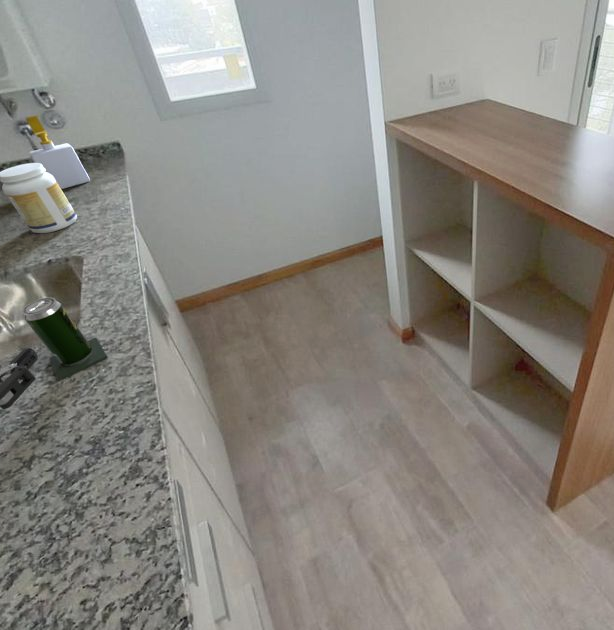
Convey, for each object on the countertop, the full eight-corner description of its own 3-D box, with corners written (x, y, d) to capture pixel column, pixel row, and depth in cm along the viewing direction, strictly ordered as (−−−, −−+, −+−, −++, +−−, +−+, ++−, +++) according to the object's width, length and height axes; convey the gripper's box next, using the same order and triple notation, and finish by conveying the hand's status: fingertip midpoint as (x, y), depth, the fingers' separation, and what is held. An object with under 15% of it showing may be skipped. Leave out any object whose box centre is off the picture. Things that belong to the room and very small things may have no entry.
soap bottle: (53, 192, 154) (9, 121, 139) (49, 187, 158) (7, 118, 143) (91, 181, 160) (54, 112, 146) (87, 177, 164) (50, 110, 149)
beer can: (72, 370, 79) (31, 318, 71) (54, 363, 81) (12, 311, 73) (100, 351, 82) (64, 300, 75) (82, 344, 84) (45, 294, 77)
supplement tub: (66, 213, 138) (33, 159, 127) (87, 220, 133) (54, 164, 122) (23, 230, 130) (-16, 173, 119) (43, 238, 125) (4, 180, 114)
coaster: (59, 381, 78) (57, 379, 77) (50, 359, 82) (48, 358, 82) (108, 357, 82) (106, 355, 81) (97, 338, 86) (96, 336, 86)
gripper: (-49, 419, 52) (35, 331, 65) (-170, 430, 52) (-62, 340, 65) (-7, 456, 57) (64, 367, 70) (-118, 466, 57) (-26, 375, 69)
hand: (4, 354), depth 67 cm, fingers open, 8 cm apart
